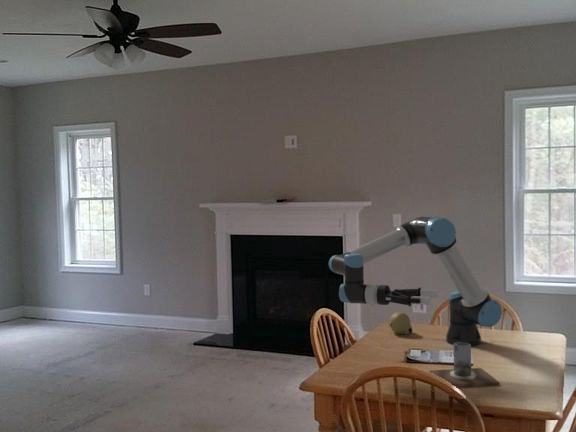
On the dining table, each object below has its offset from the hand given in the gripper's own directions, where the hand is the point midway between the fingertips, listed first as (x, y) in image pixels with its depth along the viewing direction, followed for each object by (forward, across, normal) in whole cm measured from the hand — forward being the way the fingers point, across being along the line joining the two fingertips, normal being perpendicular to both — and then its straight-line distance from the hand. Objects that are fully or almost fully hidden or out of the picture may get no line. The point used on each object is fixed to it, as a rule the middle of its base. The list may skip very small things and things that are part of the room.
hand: (434, 297), depth 204 cm
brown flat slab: (+10, 0, -30) cm, 31 cm away
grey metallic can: (+10, 0, -28) cm, 29 cm away
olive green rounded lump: (-29, -56, -30) cm, 70 cm away
